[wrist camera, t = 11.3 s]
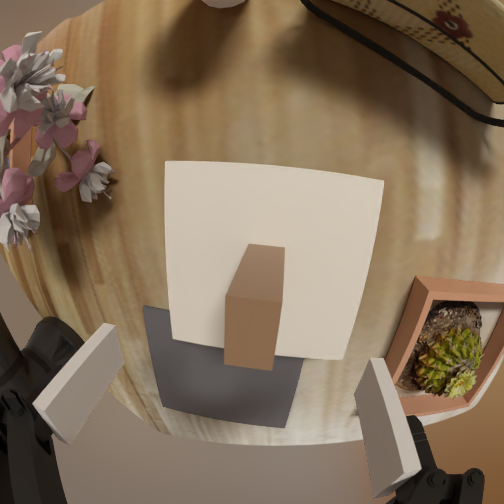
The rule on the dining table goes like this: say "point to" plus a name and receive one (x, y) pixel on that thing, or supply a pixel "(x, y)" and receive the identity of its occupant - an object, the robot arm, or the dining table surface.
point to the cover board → (271, 219)
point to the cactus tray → (412, 326)
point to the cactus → (446, 352)
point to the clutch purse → (443, 39)
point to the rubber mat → (218, 379)
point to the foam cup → (222, 3)
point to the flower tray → (20, 152)
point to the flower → (40, 135)
